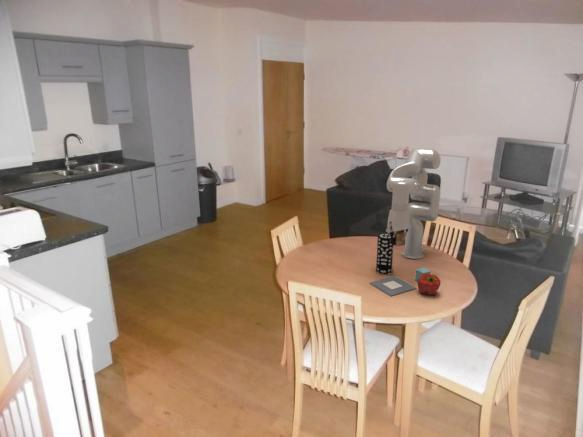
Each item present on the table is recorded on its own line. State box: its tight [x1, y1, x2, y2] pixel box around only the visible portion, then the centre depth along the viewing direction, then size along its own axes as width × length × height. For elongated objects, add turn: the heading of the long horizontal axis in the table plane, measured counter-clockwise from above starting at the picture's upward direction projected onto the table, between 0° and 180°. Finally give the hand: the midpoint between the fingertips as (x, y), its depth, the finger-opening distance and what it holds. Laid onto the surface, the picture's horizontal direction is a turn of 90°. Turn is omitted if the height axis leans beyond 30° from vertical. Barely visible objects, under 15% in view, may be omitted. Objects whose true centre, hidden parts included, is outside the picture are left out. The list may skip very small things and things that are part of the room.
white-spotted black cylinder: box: [375, 232, 395, 275], centre depth 225 cm, size 8×8×20 cm
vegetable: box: [417, 273, 442, 296], centre depth 201 cm, size 11×10×10 cm
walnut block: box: [390, 231, 406, 247], centre depth 204 cm, size 5×5×6 cm
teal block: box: [414, 267, 432, 282], centre depth 215 cm, size 5×5×6 cm
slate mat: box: [369, 275, 417, 297], centre depth 210 cm, size 16×16×1 cm
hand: (397, 243), depth 205 cm, fingers closed on walnut block, 4 cm apart
